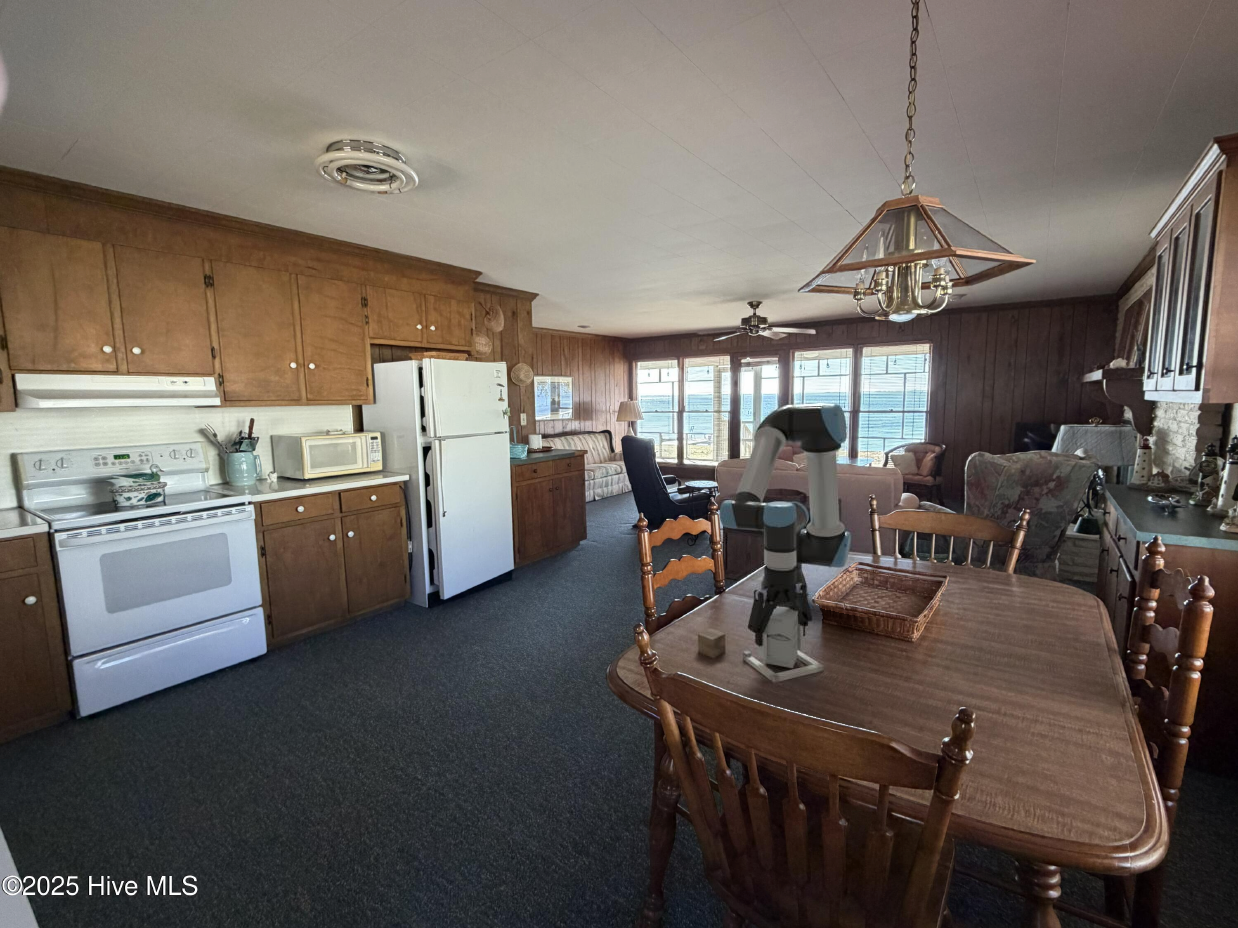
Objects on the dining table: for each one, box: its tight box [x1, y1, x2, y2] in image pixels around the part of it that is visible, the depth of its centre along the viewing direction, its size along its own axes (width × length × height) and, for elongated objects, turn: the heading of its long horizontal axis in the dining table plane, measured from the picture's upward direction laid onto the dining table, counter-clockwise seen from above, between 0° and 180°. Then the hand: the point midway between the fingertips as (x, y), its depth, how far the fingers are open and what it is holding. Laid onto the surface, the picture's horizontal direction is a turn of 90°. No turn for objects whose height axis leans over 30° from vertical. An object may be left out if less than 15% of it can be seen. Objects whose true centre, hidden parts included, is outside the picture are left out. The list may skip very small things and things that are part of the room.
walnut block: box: [697, 628, 726, 659], centre depth 145 cm, size 5×5×5 cm
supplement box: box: [762, 605, 799, 669], centre depth 136 cm, size 7×7×13 cm
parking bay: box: [742, 650, 824, 684], centre depth 136 cm, size 14×13×2 cm
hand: (780, 653), depth 136 cm, fingers closed on supplement box, 10 cm apart
